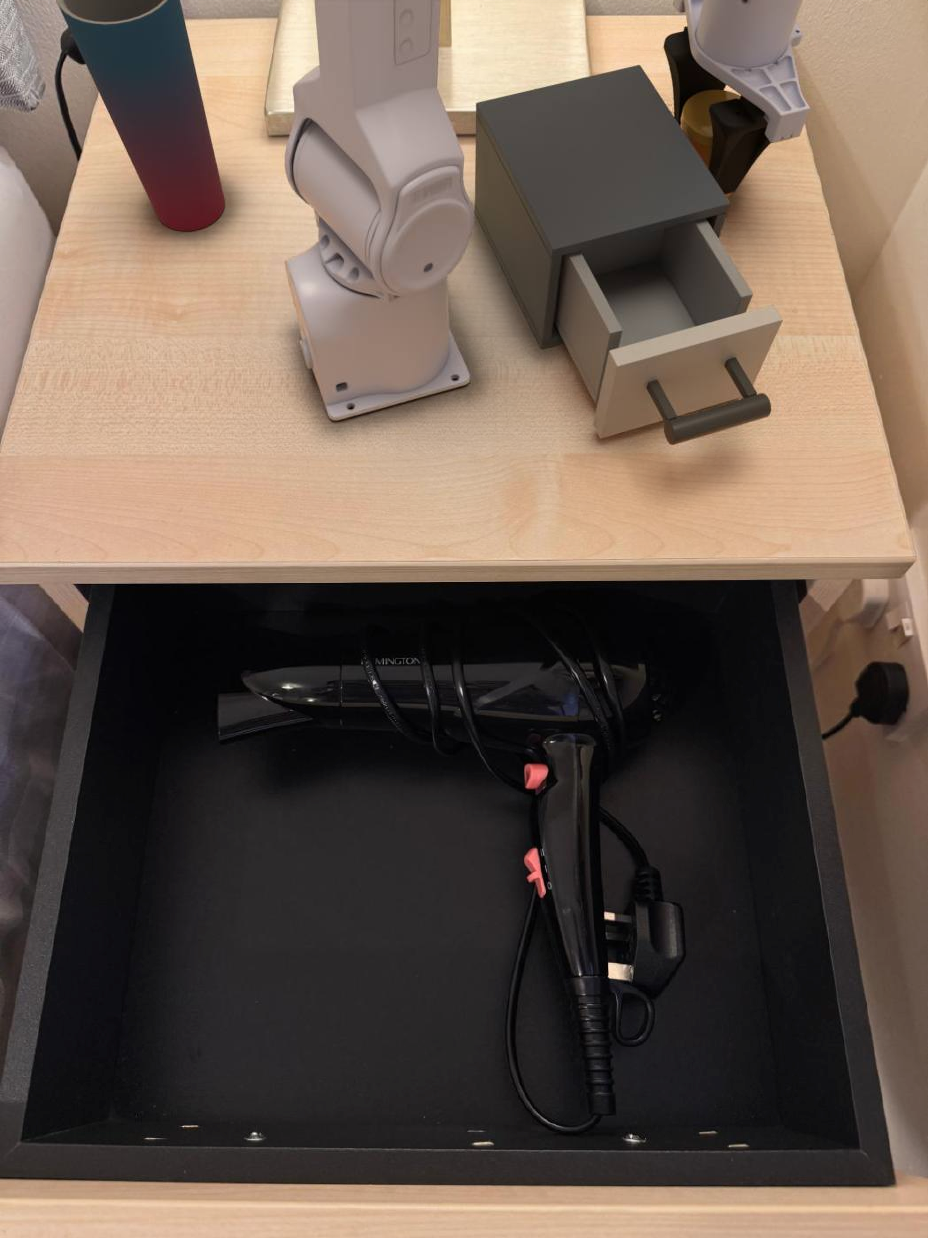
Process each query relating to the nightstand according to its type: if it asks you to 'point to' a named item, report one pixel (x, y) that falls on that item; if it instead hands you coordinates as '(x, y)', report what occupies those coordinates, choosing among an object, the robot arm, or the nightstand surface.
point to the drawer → (665, 333)
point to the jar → (702, 121)
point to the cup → (152, 101)
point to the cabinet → (582, 179)
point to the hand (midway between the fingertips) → (705, 166)
